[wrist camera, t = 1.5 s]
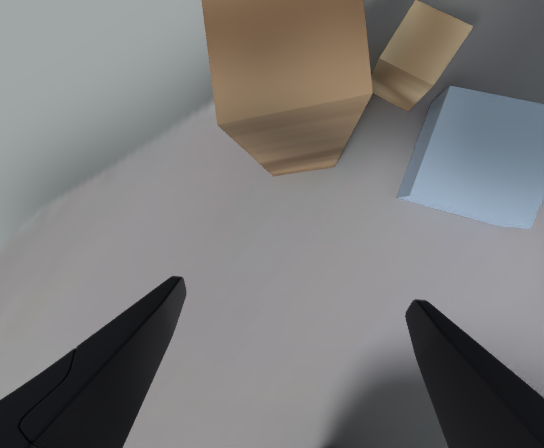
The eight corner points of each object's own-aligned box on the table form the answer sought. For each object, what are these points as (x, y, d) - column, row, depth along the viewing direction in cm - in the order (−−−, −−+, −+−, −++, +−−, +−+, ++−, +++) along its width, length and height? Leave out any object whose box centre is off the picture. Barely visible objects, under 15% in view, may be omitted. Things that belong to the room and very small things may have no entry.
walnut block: (334, 166, 20) (372, 93, 7) (273, 176, 21) (217, 124, 8) (327, 103, 19) (355, -81, 7) (266, 116, 20) (198, -27, 8)
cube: (437, 66, 18) (473, 26, 14) (407, 112, 18) (433, 85, 15) (393, 44, 18) (415, -1, 14) (365, 89, 19) (379, 58, 15)
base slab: (499, 226, 18) (530, 228, 15) (396, 197, 19) (409, 195, 16) (541, 126, 17) (581, 111, 14) (431, 102, 18) (450, 85, 16)
